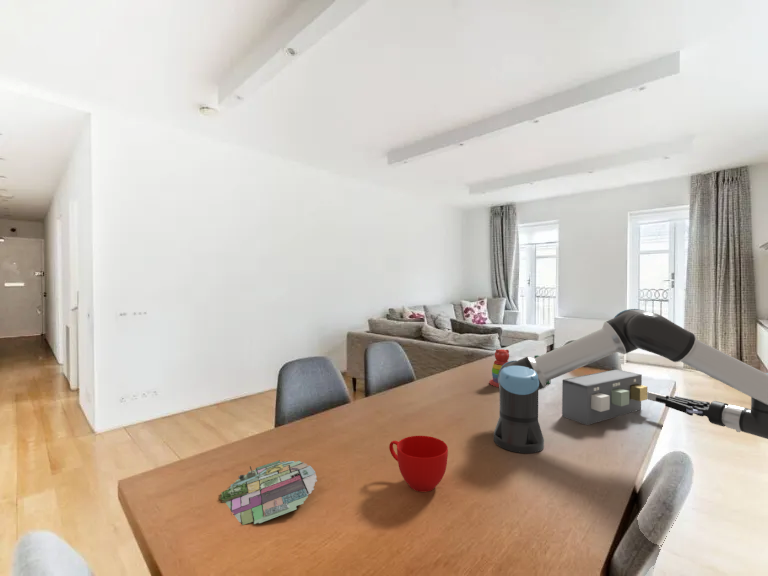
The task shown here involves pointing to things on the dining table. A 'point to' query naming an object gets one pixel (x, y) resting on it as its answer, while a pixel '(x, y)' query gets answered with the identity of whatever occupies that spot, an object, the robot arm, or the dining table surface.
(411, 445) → the ceramic cup
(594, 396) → the white button
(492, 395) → the dining table surface
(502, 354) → the stacking bear
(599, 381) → the button console
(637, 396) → the brass button
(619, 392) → the sage button
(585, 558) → the dining table surface
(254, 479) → the city model
